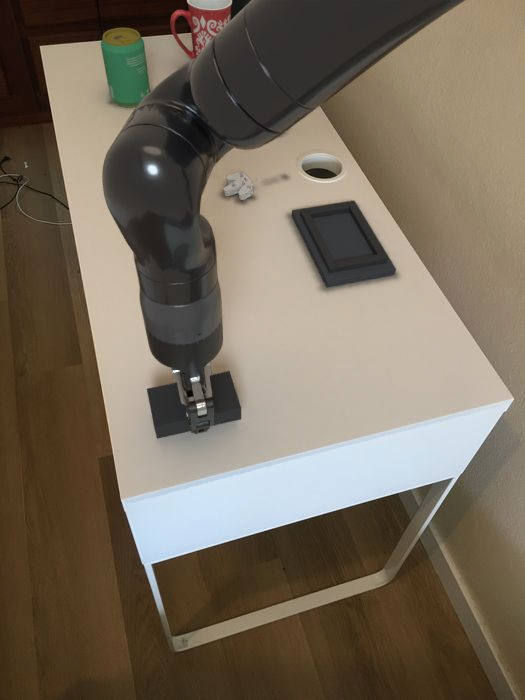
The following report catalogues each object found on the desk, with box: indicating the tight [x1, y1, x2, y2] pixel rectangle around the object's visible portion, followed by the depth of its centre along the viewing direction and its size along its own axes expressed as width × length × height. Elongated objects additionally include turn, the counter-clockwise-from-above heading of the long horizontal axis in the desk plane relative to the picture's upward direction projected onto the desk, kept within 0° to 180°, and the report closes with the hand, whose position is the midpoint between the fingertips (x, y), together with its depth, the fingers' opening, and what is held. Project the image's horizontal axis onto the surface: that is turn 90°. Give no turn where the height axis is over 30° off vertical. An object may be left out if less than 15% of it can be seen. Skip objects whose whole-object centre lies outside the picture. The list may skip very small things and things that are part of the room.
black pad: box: [146, 370, 242, 440], centre depth 67 cm, size 10×6×2 cm, turn 106°
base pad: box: [291, 200, 397, 288], centre depth 90 cm, size 17×11×2 cm, turn 16°
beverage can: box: [100, 27, 151, 108], centre depth 111 cm, size 8×8×12 cm
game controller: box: [223, 172, 287, 201], centre depth 99 cm, size 6×12×3 cm, turn 136°
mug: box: [169, 0, 233, 60], centre depth 119 cm, size 13×9×14 cm
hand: (194, 407), depth 68 cm, fingers closed on black pad, 5 cm apart
